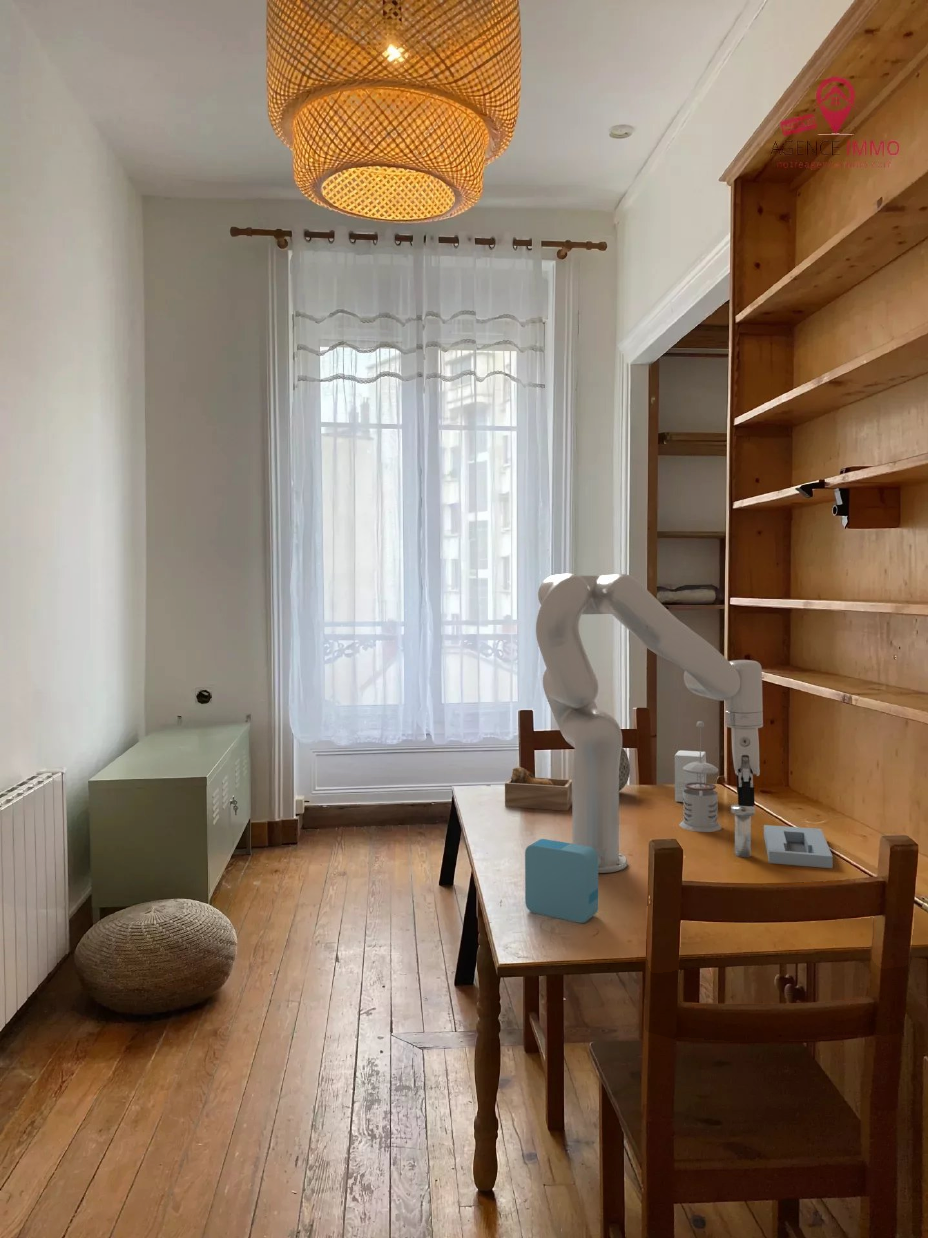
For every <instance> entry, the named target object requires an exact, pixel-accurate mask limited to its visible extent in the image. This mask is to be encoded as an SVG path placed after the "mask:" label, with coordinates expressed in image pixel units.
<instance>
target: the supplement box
mask: <svg viewBox="0 0 928 1238" xmlns="http://www.w3.org/2000/svg"><path fill="white" fill-rule="evenodd" d="M706 757H707V753H706V751H701V761H702V762H705V763H707V758H706ZM699 761H700V750H699V751H698V750H697V751H696V750H678V751H677V752H676V753H675V754H674V800H675V803H677V802H679V803H683V799H684V797H683V791H684V790H686V789H688V788H686V786H685V784H686V783H689V782H697V774H694V773H689V772H686V771H685V770H684V769H683V767H684V766H686V765H688V764H689V763H693V762H699ZM698 776H700V774H698ZM701 776H704V774H701ZM699 782H700V777H698V783H699ZM703 782H704V777H701V783H703ZM705 783H707V774H705ZM699 796H702V791H699ZM684 802H685V800H684Z"/></svg>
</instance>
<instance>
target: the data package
mask: <svg viewBox="0 0 928 1238" xmlns="http://www.w3.org/2000/svg"><path fill="white" fill-rule="evenodd" d="M524 876H525V877H524V880H525V881H524V882H525V883H524V885H525V888H524V889H525V890H524V891H525V892H524V893H525V897H524V900H525V901H524V902H525V906H526V908H527V910H528V911H529V912H531V913H534V914H537V915H541V916H546V917H550V918H555V919H560V920H564V921H568V922H573V923H578V924H585V923H586V922H588V921H589V920H590V919H591V918H592V917H593V916H595V915H596V913H598V910H599V873H598V854H597V852H596V850H595V849H594V848H592V847H589V846H583V845H577V844H572V843H570V842H564V841H558V840H554V839H553V840H552V839H545V838H541V839H540V838H539V839H538V840H537V841H535V842H533V843H531V844H530V845H527V847H526V848H525V851H524Z"/></svg>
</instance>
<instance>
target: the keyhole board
mask: <svg viewBox="0 0 928 1238" xmlns="http://www.w3.org/2000/svg"><path fill="white" fill-rule="evenodd" d="M825 837H826V836H825V835H824V833H823V831H822V829H821V828H815V827H814V828H811V827H801V826H800V827H799V826H797V827H796V826H783V825H771V824H770V825H768V824H764V825H763V838H764V843H765V844H764V845H765V849H766V855H767V859H768V864H775V865H776V864H777V865H786V866H787V865H788V866H801V867H815V868H822V869H823V868H825V869H826V868H827V869H833V867H834V866H833V864H834V862H833V861H834V859H833V857H834V856H833V854H832V852H831V849H830V847H829V844H828V842H827V841H826V838H825Z"/></svg>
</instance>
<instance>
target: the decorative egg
mask: <svg viewBox="0 0 928 1238" xmlns="http://www.w3.org/2000/svg"><path fill="white" fill-rule="evenodd" d="M630 768H631V767H630V760H629V757H628V754H627V752H626V750H625V749H624V747H623V746H622V750H621V756H620V765H619V792H620V791H621V790H622V789H623V788H625V786H626V784H628V782H629V777H630V774H631V773H630V772H631V769H630Z"/></svg>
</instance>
